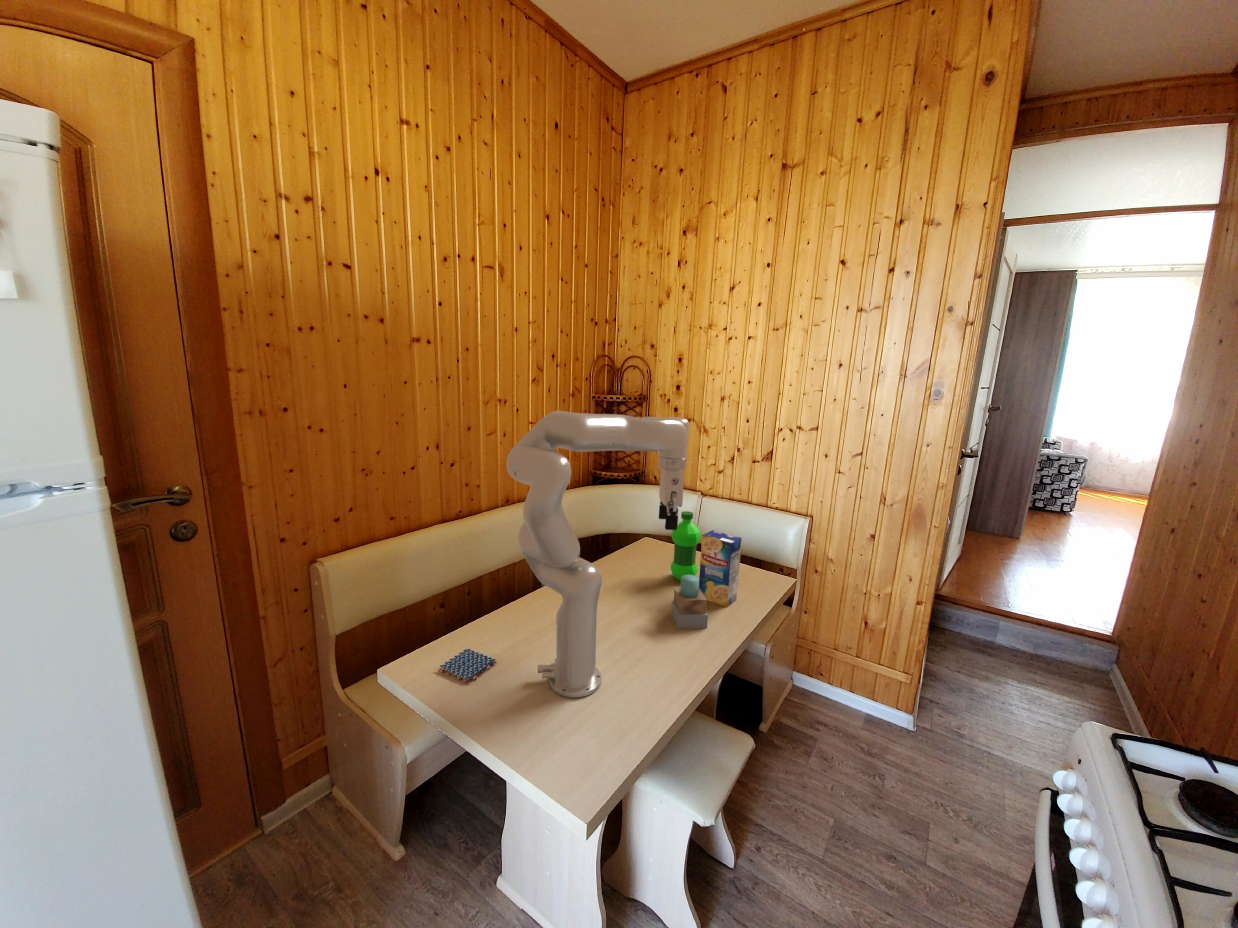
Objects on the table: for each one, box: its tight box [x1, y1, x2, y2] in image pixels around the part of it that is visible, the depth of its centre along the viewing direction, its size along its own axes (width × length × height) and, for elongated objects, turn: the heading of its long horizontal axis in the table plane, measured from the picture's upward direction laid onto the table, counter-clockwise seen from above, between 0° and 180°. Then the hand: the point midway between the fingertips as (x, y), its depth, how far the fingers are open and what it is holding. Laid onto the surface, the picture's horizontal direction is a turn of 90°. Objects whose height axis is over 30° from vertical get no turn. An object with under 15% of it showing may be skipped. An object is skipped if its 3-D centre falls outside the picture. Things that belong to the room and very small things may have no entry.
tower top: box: [673, 587, 708, 615], centre depth 151 cm, size 8×8×4 cm
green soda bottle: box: [670, 510, 702, 582], centre depth 179 cm, size 10×10×25 cm
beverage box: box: [698, 529, 742, 608], centre depth 165 cm, size 7×11×22 cm, turn 50°
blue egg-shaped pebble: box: [679, 575, 699, 598], centre depth 150 cm, size 6×6×5 cm
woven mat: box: [439, 648, 497, 685], centre depth 125 cm, size 10×11×2 cm
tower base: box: [671, 600, 709, 630], centre depth 151 cm, size 9×9×4 cm
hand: (667, 524), depth 137 cm, fingers open, 9 cm apart
